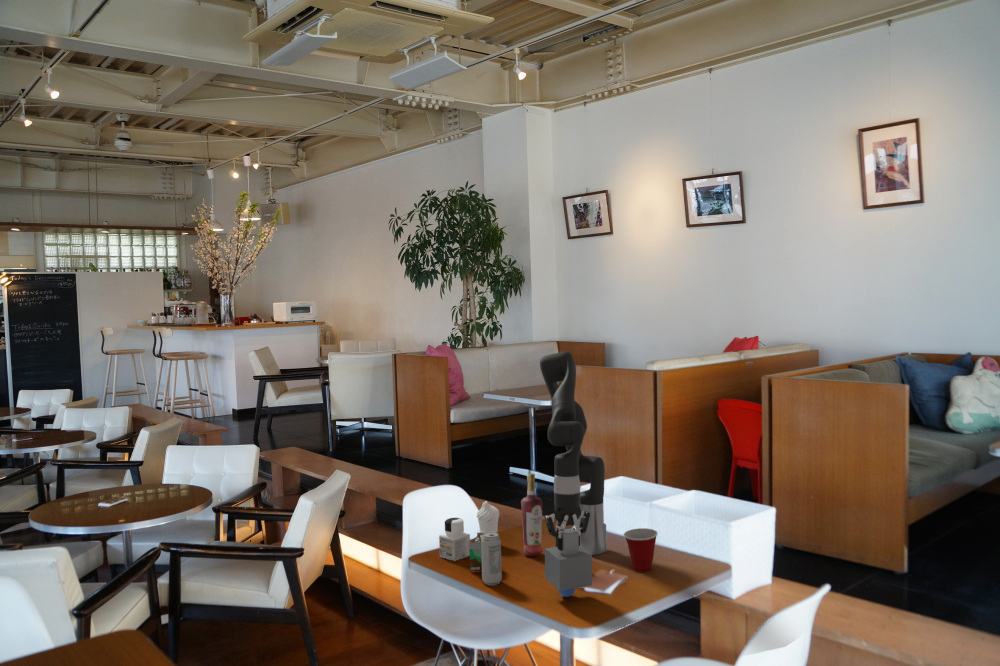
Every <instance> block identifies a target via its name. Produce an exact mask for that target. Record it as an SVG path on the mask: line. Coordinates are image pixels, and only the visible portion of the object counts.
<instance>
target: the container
mask: <svg viewBox="0 0 1000 666" xmlns="http://www.w3.org/2000/svg"><path fill="white" fill-rule="evenodd" d="M464 523H465V521H464V520H463V519H462V518H459V517H449V518H447V519H445V520H444V533H442V534H439V535H438V539H439V540H438V541H439V557H440V558H442V559H445V558H446V560H449V561H452V560H453V561H452V562H456V560H457V561H459V559H460V560H461V559H464V558H467V557H470V550H469V542H470V543H471V535H470V533H467V532H464V531H465V525H464Z"/></svg>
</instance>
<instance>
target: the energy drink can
mask: <svg viewBox="0 0 1000 666" xmlns="http://www.w3.org/2000/svg"><path fill="white" fill-rule="evenodd" d="M481 549H482V571H481V579H482V580H481V581H483V583H485V585H486V584H487V585H486V586H498V585H499V584H501V581H502V579H503V578H502V575H503V574H502V539H501V537H500V535H499V533H494V532H489V533H485V534H483V538H482V540H481ZM497 584H498V585H497Z"/></svg>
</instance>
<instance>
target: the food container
mask: <svg viewBox="0 0 1000 666" xmlns="http://www.w3.org/2000/svg"><path fill="white" fill-rule="evenodd" d="M483 534H485V533H480V531H479V532H476V536H475V537H474V538H473V539H472V541H470V542H469V550H470V556H469V563H470V565H469V567H470V572H471V571H481V570H482V549H481V540H482V538H483ZM481 572H482V571H481Z"/></svg>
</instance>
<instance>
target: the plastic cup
mask: <svg viewBox="0 0 1000 666" xmlns="http://www.w3.org/2000/svg"><path fill="white" fill-rule="evenodd" d="M658 534H659V533H658V531H657V530H654V529H652V528H643V527H642V528H641V527H640V528H633V529H629V530H627V531H625V532H624V533H623V536H624V538H625V540H626V544H627V547H628V551H629V557H630V560H631V566H632V570H633V571H634V572H638V573H648V572H650V571H651V570H652V569H653V568H652V567H653V566H652V565H653V560H654V554H655V546H656V540H657V536H658Z"/></svg>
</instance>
